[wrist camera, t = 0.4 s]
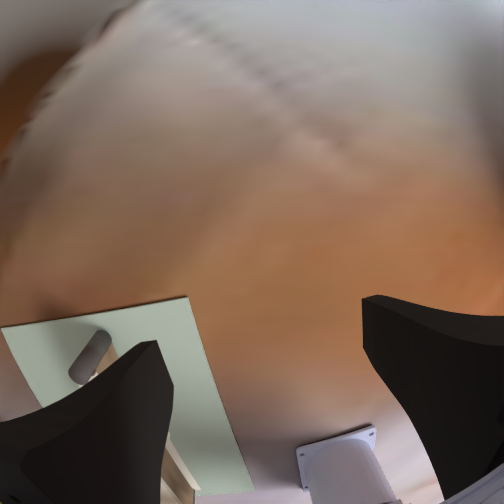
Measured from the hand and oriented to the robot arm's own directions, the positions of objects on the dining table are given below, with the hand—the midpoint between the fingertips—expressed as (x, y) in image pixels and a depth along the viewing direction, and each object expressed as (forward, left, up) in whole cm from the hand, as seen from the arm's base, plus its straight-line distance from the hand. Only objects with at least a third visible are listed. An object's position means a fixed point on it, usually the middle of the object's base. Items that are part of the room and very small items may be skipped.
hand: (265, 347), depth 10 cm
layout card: (-13, +13, -10) cm, 21 cm away
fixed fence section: (-18, +11, -10) cm, 24 cm away
